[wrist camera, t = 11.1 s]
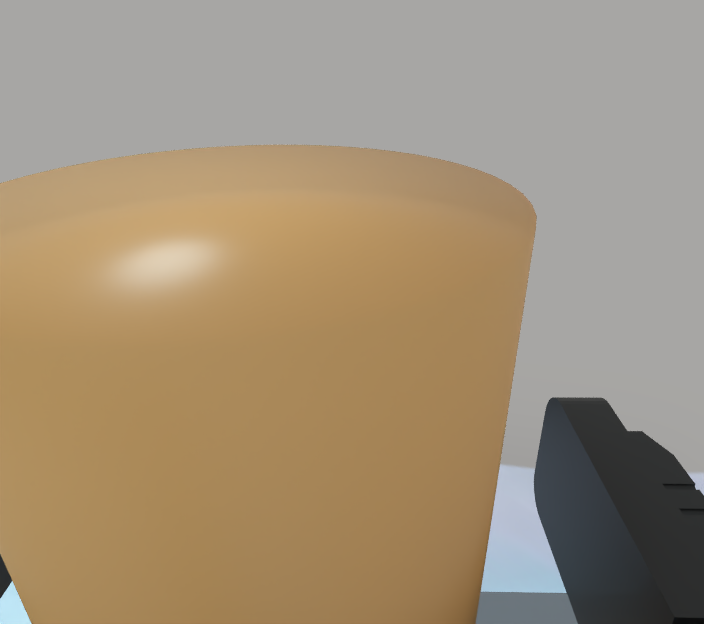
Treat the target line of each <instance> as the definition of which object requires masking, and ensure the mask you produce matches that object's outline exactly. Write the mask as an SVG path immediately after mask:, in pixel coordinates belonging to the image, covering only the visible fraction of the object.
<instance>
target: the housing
mask: <svg viewBox="0 0 704 624" xmlns="http://www.w3.org/2000/svg"><path fill="white" fill-rule="evenodd" d="M476 624H578V623H577V620H576V617H575V614H574V612H573V609H572V606H571V603H570V600H569V598H568V595H567V593H521V592H480V598H479V604H478V611H477V618H476Z"/></svg>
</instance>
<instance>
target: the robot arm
mask: <svg viewBox="0 0 704 624" xmlns="http://www.w3.org/2000/svg"><path fill="white" fill-rule="evenodd" d="M534 493H535V501H536V507H537V511H538V514H539V517H540V520H541V523H542V526H543V528H544V531H545V534H546V537H547V539H548V542H549V545H550V548H551V550H552V553H553V556H554V559H555V562H556V564H557V567H558V570H559V573H560V575H561V578H562V581H563V584H564V587H565V589H566V592H567V595H568V598H569V600H570V603H571V606H572V609H573V612H574V614H575V617H576V620H577V623H578V624H704V495H703V494H702V493H701V491H700V490H696V489H695V483H694V482H693V481H692V479H691V478H690V476H689V475H688V474H687V472H686V471H685V470H684V469H683V467H682V466H681V464H680V463H679V462H678V460H677V459H676V458H675V456H674V455H673V454H671V453H670V452H669V451H667V450H666V449H665V448H663V447H662V446H661V445H659V444H658V443H656V442H655V441H654V440H653V439H651V438H650V437H649V436H647V435H646V434H644V433H643V432H642V431H627V430H626V429H625V427H624V426H623V424H622V423H621V421H620V420H619V418H618V417H617V415H616V414H615V412H614V411H613V409H612V408H611V406H610V405H609V403H608V402H607V401H606V400H605V399H603V398H551V399H550V400H549V402H548V404H547V407H546V411H545V417H544V422H543V428H542V434H541V439H540V445H539V451H538V457H537V462H536V468H535V474H534ZM11 582H12V579H11V576H10V574H9V572H8V570H7V568H6V565H5V563H4V561H3V559H2V557H1V554H0V598H1V597H2V595H3V594H4V592H5V591H6V589H7V588H8V586H9V585H10V583H11Z"/></svg>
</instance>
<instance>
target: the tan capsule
mask: <svg viewBox="0 0 704 624" xmlns="http://www.w3.org/2000/svg"><path fill="white" fill-rule="evenodd" d="M535 230H536V213H535V211H534V208H533V206H532V204H531V203H530V201H529V200H528V199H527V198H526V197H525V196H524V195H523V193H521V192H520V191H518V190H517V189H516V188H514V187H513V186H512V185H510V184H508V183H506V182H504V181H503V180H501V179H498V178H497V177H495V176H492V175H490V174H487V173H485V172H482V171H479V170H477V169H474V168H471V167H467V166H464V165H461V164H457V163H453V162H449V161H445V160H441V159H437V158H431V157H426V156H420V155H415V154H409V153H401V152H395V151H386V150H377V149H368V148H356V147H341V146H322V145H247V146H225V147H209V148H195V149H184V150H173V151H164V152H156V153H147V154H138V155H132V156H125V157H118V158H111V159H106V160H99V161H94V162H88V163H82V164H77V165H72V166H67V167H63V168H58V169H53V170H49V171H45V172H40V173H37V174H32V175H28V176H24V177H21V178H17V179H14V180H10V181H7V182H3V183H0V554H1V557H2V559H3V561H4V563H5V565H6V568H7V570H8V572H9V574H10V576H11V579H12V581H13V583H14V585H15V588H16V590H17V592H18V594H19V596H20V599H21V601H22V603H23V605H24V607H25V610H26V612H27V614H28V616H29V619H30V621H31V623H32V624H476V618H477V611H478V604H479V598H480V591H481V585H482V578H483V572H484V565H485V559H486V552H487V545H488V539H489V532H490V526H491V519H492V513H493V506H494V500H495V493H496V486H497V480H498V473H499V467H500V460H501V454H502V447H503V439H504V434H505V427H506V421H507V414H508V407H509V401H510V395H511V388H512V381H513V375H514V368H515V362H516V355H517V348H518V342H519V334H520V329H521V322H522V315H523V309H524V302H525V296H526V289H527V283H528V276H529V270H530V263H531V257H532V250H533V243H534V237H535Z"/></svg>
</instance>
